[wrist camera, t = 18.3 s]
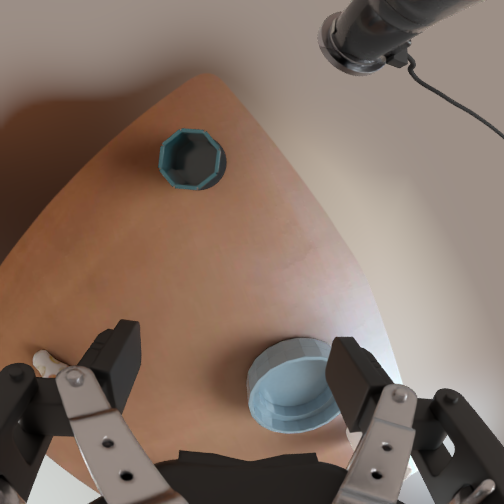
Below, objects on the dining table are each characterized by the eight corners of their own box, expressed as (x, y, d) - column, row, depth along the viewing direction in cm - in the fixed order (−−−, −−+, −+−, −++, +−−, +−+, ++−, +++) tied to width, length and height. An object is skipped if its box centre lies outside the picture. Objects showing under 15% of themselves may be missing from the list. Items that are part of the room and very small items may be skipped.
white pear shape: (40, 334, 43) (41, 369, 35) (83, 355, 49) (92, 391, 42) (26, 361, 42) (26, 398, 35) (68, 381, 48) (75, 416, 41)
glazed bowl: (351, 336, 47) (365, 355, 41) (328, 409, 51) (337, 430, 45) (252, 333, 45) (256, 354, 39) (241, 409, 49) (243, 433, 43)
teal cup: (224, 141, 38) (223, 131, 29) (218, 188, 39) (215, 191, 30) (177, 137, 37) (163, 127, 28) (171, 184, 38) (156, 186, 30)
